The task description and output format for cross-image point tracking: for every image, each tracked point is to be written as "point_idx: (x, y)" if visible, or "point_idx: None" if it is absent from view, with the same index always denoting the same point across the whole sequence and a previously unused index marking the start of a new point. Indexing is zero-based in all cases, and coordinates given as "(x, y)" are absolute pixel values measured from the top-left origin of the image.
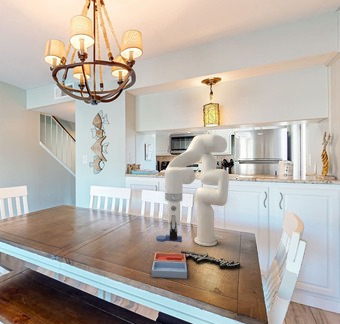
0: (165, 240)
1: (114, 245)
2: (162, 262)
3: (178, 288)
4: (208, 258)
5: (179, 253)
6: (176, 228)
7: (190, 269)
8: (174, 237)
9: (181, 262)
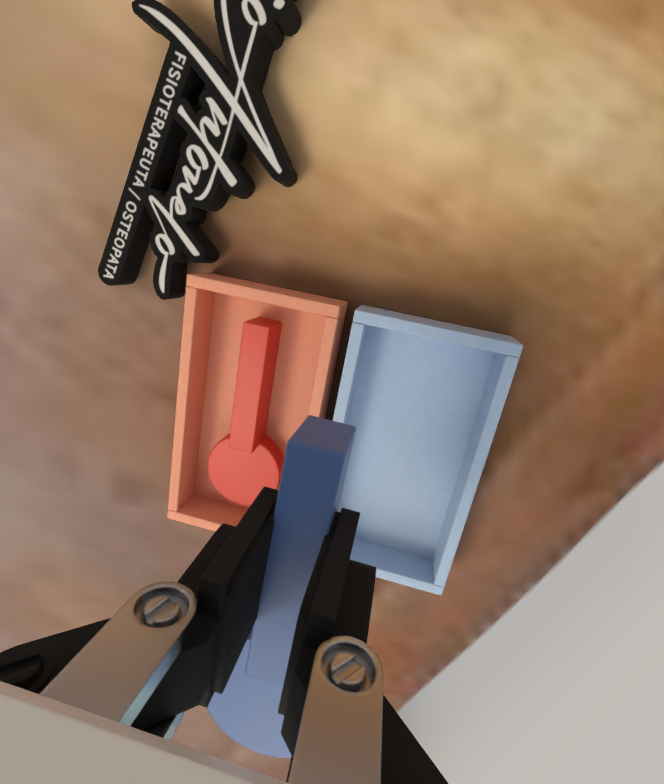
0: None
1: None
2: None
3: (620, 430)
4: (249, 28)
5: (184, 325)
6: (382, 742)
7: (379, 268)
8: (371, 590)
9: (353, 350)
